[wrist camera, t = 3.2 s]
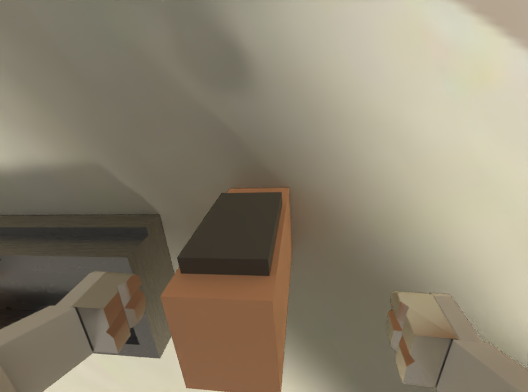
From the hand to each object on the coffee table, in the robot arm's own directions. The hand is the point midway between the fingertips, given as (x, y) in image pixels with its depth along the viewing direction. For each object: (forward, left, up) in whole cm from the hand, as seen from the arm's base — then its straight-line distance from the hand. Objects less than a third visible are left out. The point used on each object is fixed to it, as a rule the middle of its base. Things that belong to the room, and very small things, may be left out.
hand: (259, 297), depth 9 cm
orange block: (+1, +1, -7) cm, 7 cm away
